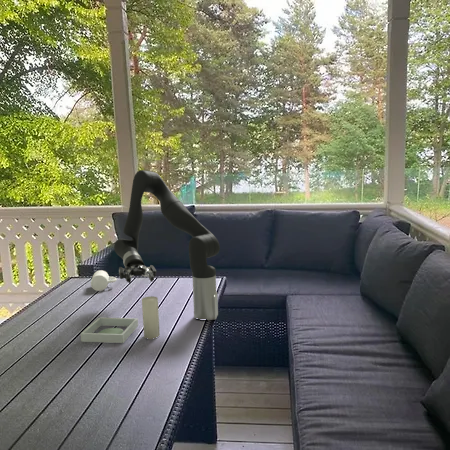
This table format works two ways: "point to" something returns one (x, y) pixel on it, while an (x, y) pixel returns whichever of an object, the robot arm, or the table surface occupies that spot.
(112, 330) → the pad
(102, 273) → the mug
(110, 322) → the square picture frame
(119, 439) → the table surface
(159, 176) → the robot arm
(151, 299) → the canister
